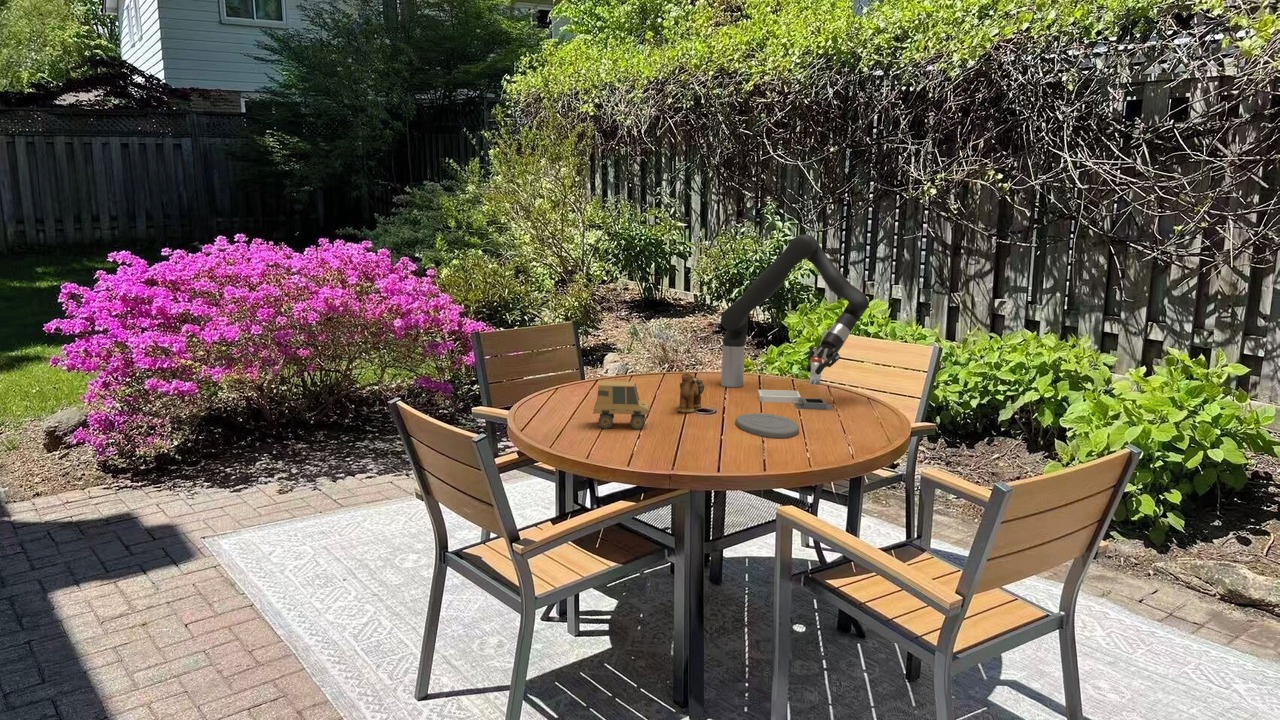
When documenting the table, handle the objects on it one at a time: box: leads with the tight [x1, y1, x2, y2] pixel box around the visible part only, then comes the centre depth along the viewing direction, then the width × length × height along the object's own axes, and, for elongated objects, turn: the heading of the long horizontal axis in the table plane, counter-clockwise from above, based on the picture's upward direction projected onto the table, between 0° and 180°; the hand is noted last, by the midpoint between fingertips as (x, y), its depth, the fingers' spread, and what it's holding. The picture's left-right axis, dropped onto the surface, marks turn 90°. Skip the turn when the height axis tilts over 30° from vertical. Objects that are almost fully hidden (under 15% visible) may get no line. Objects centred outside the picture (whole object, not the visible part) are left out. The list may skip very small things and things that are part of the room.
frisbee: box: [735, 412, 800, 439], centre depth 306 cm, size 20×27×3 cm
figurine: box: [677, 372, 705, 414], centre depth 327 cm, size 9×15×15 cm, turn 159°
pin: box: [808, 356, 822, 386], centre depth 332 cm, size 4×4×10 cm
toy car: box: [593, 380, 650, 430], centre depth 304 cm, size 10×19×15 cm, turn 89°
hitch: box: [793, 397, 835, 411], centre depth 334 cm, size 14×9×3 cm, turn 87°
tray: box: [757, 389, 802, 404], centre depth 346 cm, size 16×12×3 cm
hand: (812, 372), depth 331 cm, fingers closed on pin, 4 cm apart
